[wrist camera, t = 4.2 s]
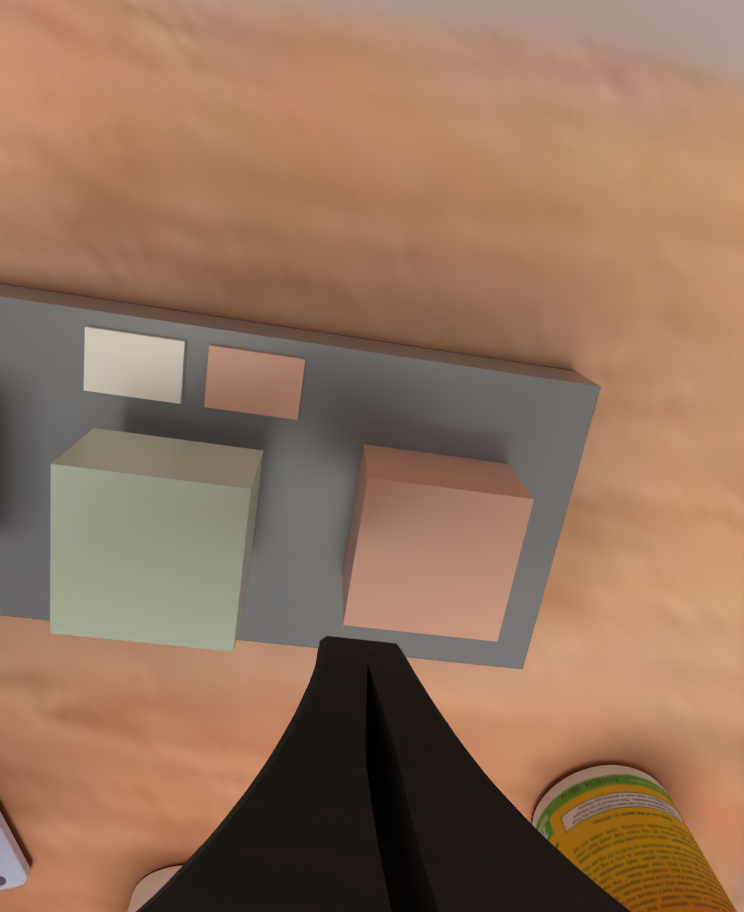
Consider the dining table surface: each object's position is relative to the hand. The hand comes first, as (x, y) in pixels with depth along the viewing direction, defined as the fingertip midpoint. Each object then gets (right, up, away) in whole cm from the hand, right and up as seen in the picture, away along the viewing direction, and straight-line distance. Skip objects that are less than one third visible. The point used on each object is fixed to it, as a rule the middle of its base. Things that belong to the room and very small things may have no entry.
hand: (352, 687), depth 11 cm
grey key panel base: (-5, +4, +8) cm, 10 cm away
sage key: (-5, +3, +5) cm, 7 cm away
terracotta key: (+2, +2, +7) cm, 8 cm away
